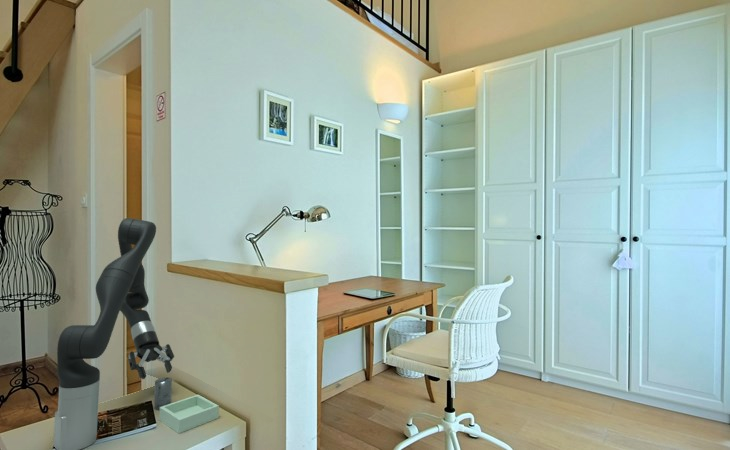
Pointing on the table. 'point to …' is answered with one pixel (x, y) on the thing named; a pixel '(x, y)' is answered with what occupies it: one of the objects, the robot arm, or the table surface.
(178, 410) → the tray
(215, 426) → the table surface
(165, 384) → the metal tin
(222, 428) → the table surface
